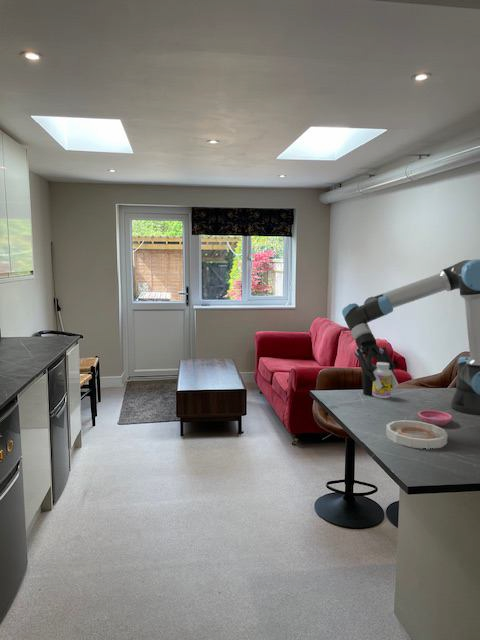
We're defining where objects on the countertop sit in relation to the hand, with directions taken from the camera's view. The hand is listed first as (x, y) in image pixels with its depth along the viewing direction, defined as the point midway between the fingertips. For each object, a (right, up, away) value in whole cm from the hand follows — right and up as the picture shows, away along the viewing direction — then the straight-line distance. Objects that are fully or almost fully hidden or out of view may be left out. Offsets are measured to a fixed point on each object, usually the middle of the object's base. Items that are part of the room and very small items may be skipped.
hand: (388, 387), depth 173 cm
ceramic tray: (+8, -17, -7) cm, 20 cm away
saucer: (+22, -16, +11) cm, 29 cm away
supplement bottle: (-1, -4, +4) cm, 6 cm away
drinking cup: (+6, -11, +49) cm, 51 cm away
